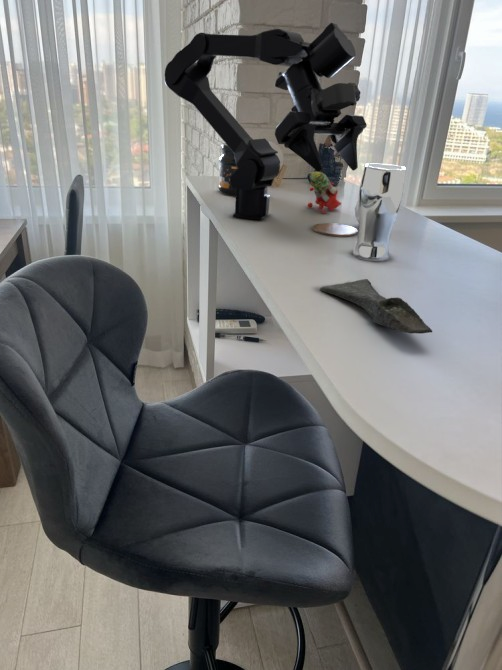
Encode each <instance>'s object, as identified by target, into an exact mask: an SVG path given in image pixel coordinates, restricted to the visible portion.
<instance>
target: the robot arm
mask: <svg viewBox="0 0 502 670" xmlns="http://www.w3.org/2000/svg"><path fill="white" fill-rule="evenodd" d="M304 40H305V39H304V38H303V37H302V34H300V33H298V32H294V31H291V30H286V29H281V28H274V29H269V30H265V31H260V32H258V33H256V34H251V35H249V34H247V35H245V34H219V33H217V34H215V33H206V32H199V33H196V34H195V35H194V36H193V38H192V39H191V40H190V42H189V43H188V44H187V45H185V46H184V47H183V48H182V49H180V50H179V51H178V52H176V54H174V56H173V58H172V59H171V60H170V61H169V62H168V63H167V65H166V66H165V69H164V83H165V85H166V87H167V88H168V89H169V90H170V91H172V92H173V93H174V94H175V95H176V96H177V97H179V98H181V99H182V100H184V101H187V103H188V102H189V103H190V104H192V105H193V106H194V107H195V109H196V110H197V111H198V112H199V114H200V115H201V116H202V117H203V118H204V120H206V122H207V123H208V124H209V126H210V127H211V128H212V129H213V130H214V132H215V133H216V134H217V135H218V136H219V137H220V139H222V141H223V142H224V143H226V144H227V145H228V147H229V148H230V149H231V150H232V151H233V153H234V157H235V162H236V166H237V167H238V170H237V171H236V172H235V173H234V174H233V175H232V176H231V177H230V182H231V186H232V188H236V196H235V202H234V203H235V204H234V205H235V206H234V213H233V214H232V218H239V219H249V220H255V221H256V220H257V221H262V220H264V219H265V218H266V217H267V216H268V215H269V213H270V198H271V197H270V194H268V188H269V187H272V185H273V183H274V180H275V178H276V177H277V176H278V175H279V173H280V171H281V159H280V158H279V156H278V155H277V154H278V153H279V151H277V150H276V149H274V148H273V147H272V146H271V144H270V142H269V140H267V138H253V137H251V135H250V134H249V133H248V132H247V130H245V129H244V128H243V126H242V125H241V124H240V123H239V122H238V120H237V119H236V117H234V115H233V114H232V113H231V112H230V111H229V109H228V108H227V107H226V106H225V105H224V104H223V103H222V101H221V100H220V99H219V98H218V97H217V96H216V94H214V91H212V89H211V86H210V80H209V77H208V75H209V74H210V72H211V71H212V69H213V68H212V67H213V65H214V64H213V63H214V61H215V58H216V57H233V58H249V59H250V58H252V59H256V60H258V61H260V62H264V63H267V64H271V65H274V66H282V67H288V68H287V69H285V71H284V72H281V71H279V72H278V76H277V77H276V80H275V82H274V87H276V88H277V89H281V90H283V91H288V92H289V95H290V98H291V100H292V102H293V106H292V107H291V108H290V111H289V112H288V113H287V114H286V115H285V117H283V119H282V120H281V121H280V122H279V123H278V124H277V126H275V128H274V137H275V140H276V142H277V144H278V145H283V146H284V148H285V149H288V150H290V151H291V152H293V153H294V154H295V155H296V156H298V157H299V158H301V159H302V160H304V161H305V163H307V164H308V165H309V166H310V167H311V168H312V169H314V170H315V172H322V171H323V170H324V167H323V162H322V159H321V155H320V153H319V150H318V147H317V145H316V142H315V135H317V136H319V135H320V136H329V138H330V141H331V142H332V143H333V144H334V145H333V148H334V149H335V151H336V152H337V153H338V155H340V157H341V158H342V160H343V161H344V162H345V164H346V165H347V166H348V167H349V169H351V171H356V170H357V169H358V167H359V166H358V165H359V164H358V138H359V136H360V135H361V134H362V133H363V131H364V130H365V129H366V128H367V127H368V126H367V123H366V120H365V118H364V116H363V115H358V114H345V115H344V116H343V117H342V118H341V119H340V120H339V121H337V122H335V119H336V118H338V117H339V116H341V115H342V111H341V110H343V109H347V108H348V107H350V106H351V107H354V106H355V105H357V102H359V101H360V99H361V90H360V89H359V87H358V85H357V83H355V82H348V83H344V82H337V83H334V84H332V85H330V86H328V87H326V88H323V86H322V84H321V81H320V79H319V78H323V77H325V78H326V79H332V77H333V76H334V75H336V74H337V73H338V72H339V71H340V70H341V69H343V68H344V67H345V66H346V65H348V63H349V62H350V61H352V60H353V59H354V58H355V57H356V56H357V52H356V48H355V46H354V44H353V42H352V40H351V39H349V38H348V37H347V35H346V34H345V32H344V31H342V30H341V29H340V27H339V25H338V24H337V23H334V22H330V23H329V24H328V25H327V26H326V27H325V28H324V29H323V31H322V32H321V33H320V34H319V35H318V36H317V37H316V38H315V39H314V40H313V41H311V42H307V41H304Z"/></svg>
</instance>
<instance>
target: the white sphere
mask: <svg viewBox="0 0 502 670" xmlns="http://www.w3.org/2000/svg"><path fill="white" fill-rule="evenodd" d="M358 203H359V199H358V200H357V202H356V203H355V207H354V216H355V218H356V221H357V222H358V223H359V212H358Z"/></svg>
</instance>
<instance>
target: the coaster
mask: <svg viewBox="0 0 502 670" xmlns="http://www.w3.org/2000/svg"><path fill="white" fill-rule="evenodd" d="M312 230H313V232H315V233H317V234H320V235H325V236H329V237H340V238H341V237H353V236H356V235H358V229H357V228H355V227H353V226H351V225H347V224H342V223H330V222H324V223H323V222H322V223H317V224H314V225H313V227H312Z"/></svg>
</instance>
